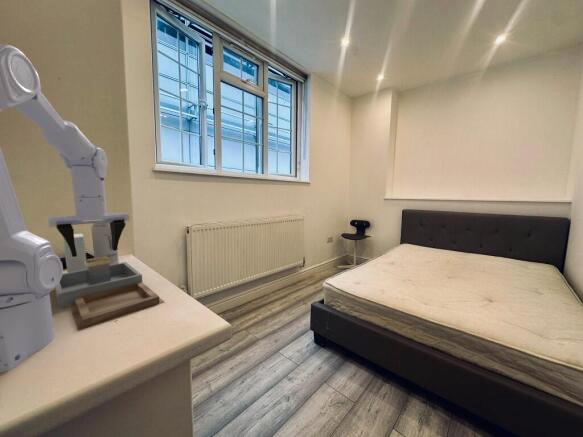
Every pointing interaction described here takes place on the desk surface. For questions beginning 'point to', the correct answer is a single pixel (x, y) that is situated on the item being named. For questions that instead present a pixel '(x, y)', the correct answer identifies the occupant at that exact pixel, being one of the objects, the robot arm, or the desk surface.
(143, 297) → the socket block
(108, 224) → the energy drink can
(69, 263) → the skincare box
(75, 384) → the desk surface
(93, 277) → the grey tall block
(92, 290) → the bin
